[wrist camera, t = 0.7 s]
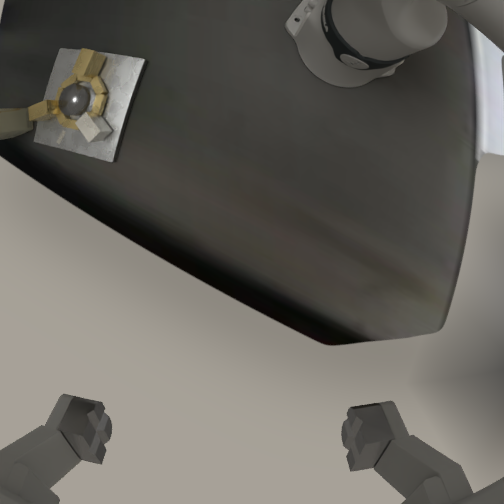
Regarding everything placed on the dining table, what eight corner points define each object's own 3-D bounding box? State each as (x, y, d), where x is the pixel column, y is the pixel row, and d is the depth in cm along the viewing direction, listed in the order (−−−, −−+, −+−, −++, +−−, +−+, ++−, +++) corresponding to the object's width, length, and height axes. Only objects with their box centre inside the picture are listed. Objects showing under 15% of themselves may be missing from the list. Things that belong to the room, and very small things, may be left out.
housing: (64, 49, 37) (48, 44, 32) (147, 61, 40) (137, 54, 35) (38, 140, 43) (21, 143, 38) (116, 161, 45) (102, 165, 40)
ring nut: (61, 50, 36) (47, 45, 31) (135, 59, 38) (125, 53, 34) (38, 126, 40) (23, 127, 36) (109, 142, 42) (96, 144, 38)
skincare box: (32, 107, 40) (-11, 107, 29) (34, 129, 42) (-9, 134, 31) (9, 117, 40) (-34, 120, 29) (11, 138, 42) (-32, 145, 31)
